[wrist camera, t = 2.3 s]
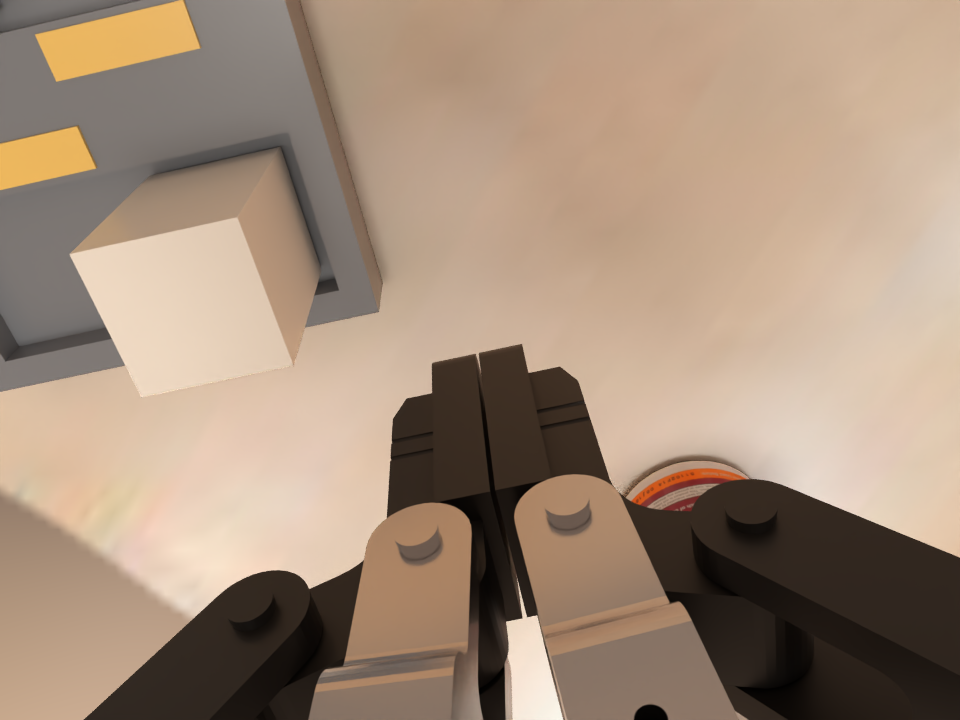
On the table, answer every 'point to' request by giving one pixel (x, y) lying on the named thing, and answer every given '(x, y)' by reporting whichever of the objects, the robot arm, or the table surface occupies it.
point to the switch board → (151, 151)
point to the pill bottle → (682, 487)
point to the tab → (204, 273)
